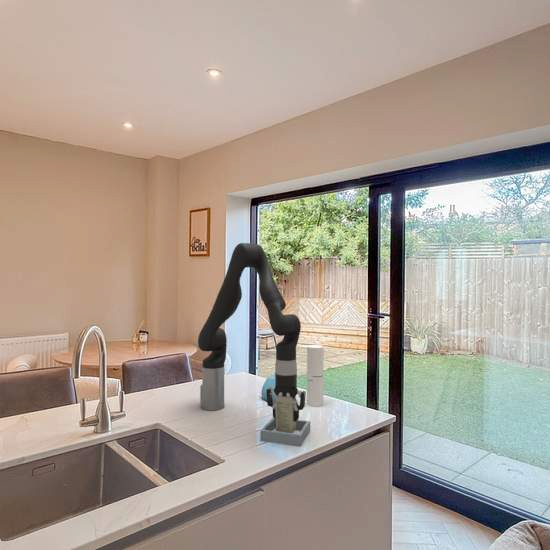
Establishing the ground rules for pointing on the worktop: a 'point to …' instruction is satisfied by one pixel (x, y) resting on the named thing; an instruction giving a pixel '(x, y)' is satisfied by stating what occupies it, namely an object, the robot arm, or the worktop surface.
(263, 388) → the sugar bowl
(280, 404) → the skincare box
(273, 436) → the box
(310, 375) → the cylindrical container
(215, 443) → the worktop surface
